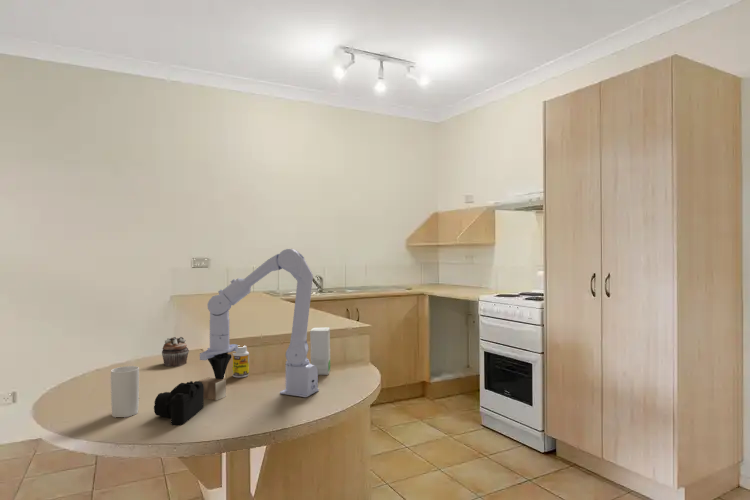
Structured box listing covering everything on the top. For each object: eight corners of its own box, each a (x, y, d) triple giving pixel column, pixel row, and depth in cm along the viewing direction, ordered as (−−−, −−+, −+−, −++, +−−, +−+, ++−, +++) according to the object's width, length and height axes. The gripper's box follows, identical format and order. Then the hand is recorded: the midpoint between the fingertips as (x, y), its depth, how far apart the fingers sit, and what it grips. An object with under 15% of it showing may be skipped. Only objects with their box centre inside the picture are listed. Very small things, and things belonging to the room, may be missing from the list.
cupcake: (156, 366, 177) (156, 339, 177) (171, 360, 187) (171, 335, 186) (179, 367, 175) (179, 340, 175) (193, 361, 185) (193, 335, 185)
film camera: (174, 406, 133) (174, 374, 133) (208, 406, 133) (208, 374, 133) (144, 426, 118) (144, 390, 118) (182, 427, 117) (182, 391, 117)
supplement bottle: (231, 378, 161) (231, 348, 161) (233, 374, 166) (233, 345, 166) (247, 377, 162) (247, 347, 162) (250, 373, 167) (249, 344, 167)
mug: (134, 417, 124) (134, 371, 124) (106, 419, 123) (106, 372, 123) (145, 404, 134) (145, 362, 134) (120, 406, 133) (120, 363, 132)
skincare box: (328, 375, 165) (328, 330, 165) (309, 375, 165) (309, 330, 165) (330, 369, 173) (330, 326, 173) (312, 369, 173) (312, 326, 173)
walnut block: (225, 379, 141) (208, 377, 144) (216, 383, 138) (198, 380, 141) (225, 396, 141) (208, 393, 144) (216, 400, 138) (198, 397, 141)
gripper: (225, 329, 152) (225, 371, 152) (191, 337, 139) (191, 383, 139) (243, 331, 149) (243, 374, 149) (210, 339, 136) (210, 386, 136)
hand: (219, 378), depth 144 cm, fingers closed
